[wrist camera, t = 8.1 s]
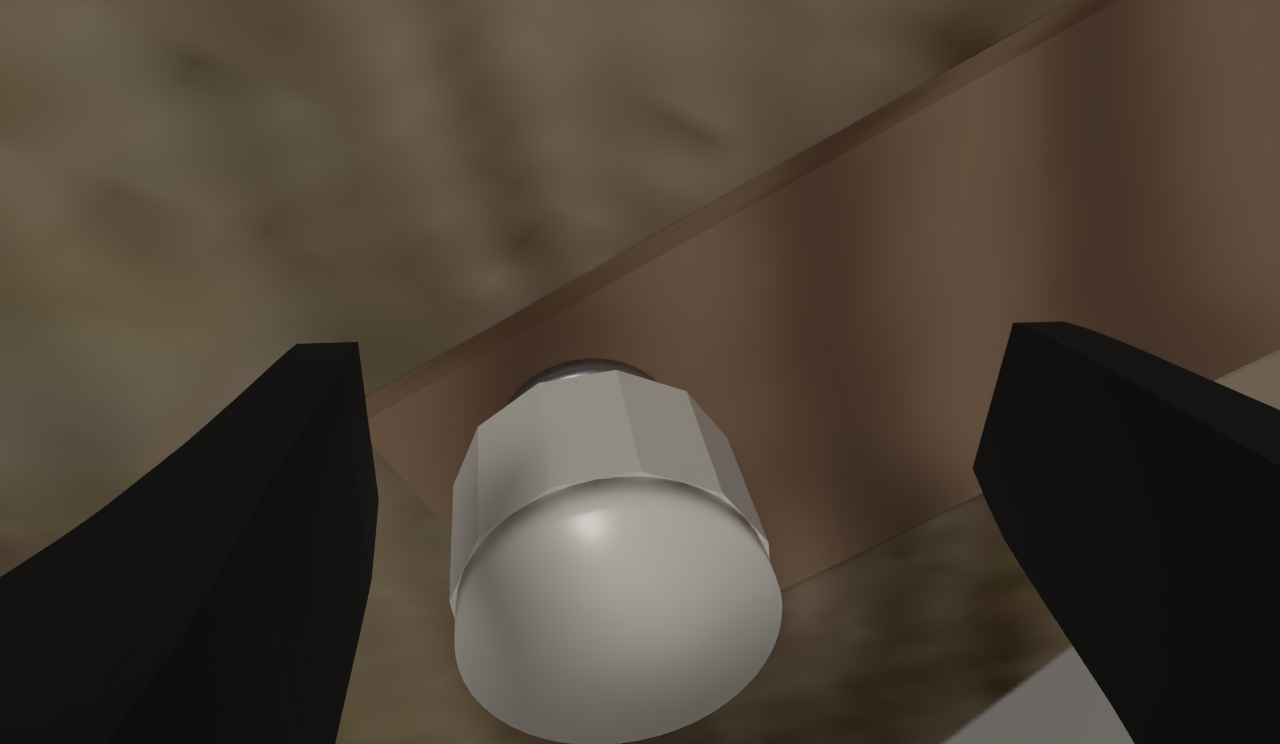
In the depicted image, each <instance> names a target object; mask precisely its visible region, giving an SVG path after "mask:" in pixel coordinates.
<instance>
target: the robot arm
mask: <svg viewBox="0 0 1280 744" xmlns="http://www.w3.org/2000/svg"><path fill="white" fill-rule="evenodd" d="M973 471H974V473H975V476H976V478H977V480H978V483H979V485H980V487H981V490H982V492H983V494H984V497H985V499H986V501H987V504H988V506H989V508H990V510H991V512H992V515H993V517H994V519H995V521H996V523H997V525H998V527H999V529H1000V531H1001V533H1002V535H1003V537H1004V540H1005V541H1006V543H1007V545H1008V546H1009V548H1010V550H1011V551H1012V553H1013V554H1014V556H1015V558H1016V559H1017V561H1018V562H1019V564H1020V566H1021V567H1022V569H1023V570H1024V572H1025V573H1026V575H1027V576H1028V578H1029V580H1030V581H1031V583H1032V584H1033V586H1034V587H1035V589H1036V590H1037V592H1038V594H1039V595H1040V597H1041V598H1042V600H1043V601H1044V603H1045V604H1046V606H1047V607H1048V609H1049V610H1050V612H1051V613H1052V615H1053V617H1054V618H1055V620H1056V621H1057V623H1058V624H1059V626H1060V627H1061V629H1062V630H1063V632H1064V633H1065V635H1066V636H1067V638H1068V639H1069V641H1070V642H1071V644H1072V645H1073V647H1074V648H1075V650H1076V651H1077V653H1078V654H1079V656H1080V658H1081V659H1082V660H1083V662H1084V664H1085V665H1086V667H1087V668H1088V670H1089V671H1090V673H1091V674H1092V676H1093V677H1094V679H1095V680H1096V682H1097V683H1098V685H1099V686H1100V688H1101V690H1102V691H1103V693H1104V694H1105V696H1106V697H1107V699H1108V700H1109V702H1110V703H1111V705H1112V706H1113V708H1114V710H1115V711H1116V713H1117V715H1118V717H1119V718H1120V720H1121V721H1122V723H1123V725H1124V727H1125V728H1126V730H1127V732H1128V733H1129V735H1130V737H1131V738H1132V740H1133V742H1134V743H1135V744H1280V410H1278V409H1276V408H1274V407H1271V406H1269V405H1267V404H1264V403H1262V402H1260V401H1257V400H1255V399H1253V398H1250V397H1248V396H1246V395H1244V394H1241V393H1239V392H1237V391H1234V390H1232V389H1230V388H1228V387H1225V386H1223V385H1221V384H1218V383H1216V382H1214V381H1212V380H1209V379H1207V378H1205V377H1203V376H1200V375H1198V374H1196V373H1194V372H1191V371H1189V370H1187V369H1184V368H1182V367H1180V366H1178V365H1175V364H1173V363H1171V362H1168V361H1166V360H1164V359H1162V358H1159V357H1157V356H1155V355H1153V354H1150V353H1148V352H1146V351H1143V350H1141V349H1139V348H1136V347H1134V346H1131V345H1129V344H1126V343H1124V342H1122V341H1119V340H1117V339H1114V338H1112V337H1109V336H1106V335H1104V334H1101V333H1099V332H1096V331H1093V330H1090V329H1087V328H1084V327H1081V326H1078V325H1074V324H1071V323H1068V322H1064V321H1056V322H1022V323H1013V325H1012V328H1011V332H1010V335H1009V339H1008V342H1007V346H1006V350H1005V353H1004V357H1003V360H1002V364H1001V368H1000V371H999V375H998V378H997V382H996V386H995V389H994V393H993V396H992V400H991V403H990V407H989V411H988V414H987V418H986V421H985V425H984V429H983V432H982V436H981V439H980V443H979V447H978V450H977V454H976V457H975V461H974V465H973ZM378 500H379V498H378V491H377V483H376V475H375V468H374V460H373V453H372V445H371V438H370V430H369V423H368V415H367V408H366V400H365V393H364V385H363V377H362V370H361V362H360V355H359V347H358V342H345V343H311V344H296V345H295V346H294V347H292V348H291V349H290V350H289V351H287V352H286V353H285V354H284V355H283V356H282V357H281V358H280V359H278V360H277V361H276V362H275V363H274V364H273V365H272V366H271V367H270V368H269V369H267V370H266V371H265V372H264V373H263V374H262V375H261V376H260V377H259V378H258V379H257V380H256V381H254V382H253V383H252V384H251V385H250V386H249V387H248V388H247V389H246V390H245V391H244V392H243V393H241V394H240V395H239V396H238V397H237V398H236V399H235V400H234V401H233V402H231V403H230V404H229V405H228V406H227V407H226V408H225V409H224V410H222V411H221V412H220V413H219V414H218V415H217V416H216V417H214V418H213V419H212V420H211V421H210V422H209V423H208V424H207V425H205V426H204V427H203V428H202V429H201V430H200V431H199V432H197V433H196V434H195V435H194V436H193V437H192V438H191V439H190V440H188V441H187V442H186V443H185V444H184V445H182V446H181V447H180V448H179V449H177V450H176V451H175V452H174V453H172V454H171V455H170V456H169V457H167V458H166V459H165V460H163V461H162V462H161V463H160V464H158V465H157V466H156V467H155V468H153V469H152V470H151V471H150V472H148V473H147V474H146V475H145V476H143V477H142V478H141V479H139V480H138V481H137V482H136V483H134V484H133V485H132V486H131V487H129V488H128V489H127V490H126V491H124V492H123V493H122V494H120V495H119V496H118V497H117V498H115V499H114V500H113V501H112V502H110V503H109V504H108V505H106V506H105V507H104V508H102V509H101V510H100V511H98V512H97V513H95V514H94V515H93V516H91V517H90V518H89V519H87V520H86V521H84V522H83V523H81V524H80V525H79V526H77V527H76V528H74V529H73V530H71V531H70V532H69V533H67V534H66V535H64V536H63V537H61V538H60V539H58V540H57V541H55V542H54V543H52V544H51V545H49V546H48V547H46V548H45V549H43V550H42V551H40V552H38V553H37V554H35V555H34V556H32V557H31V558H29V559H28V560H26V561H25V562H23V563H22V564H20V565H18V566H17V567H15V568H14V569H12V570H11V571H9V572H8V573H6V574H5V575H3V576H1V577H0V744H335V742H336V737H337V733H338V728H339V724H340V719H341V715H342V711H343V706H344V702H345V697H346V693H347V689H348V684H349V680H350V675H351V671H352V666H353V662H354V658H355V653H356V649H357V644H358V640H359V635H360V631H361V626H362V622H363V617H364V613H365V608H366V603H367V599H368V594H369V589H370V585H371V579H372V569H373V559H374V548H375V537H376V525H377V512H378Z"/></svg>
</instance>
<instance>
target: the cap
mask: <svg viewBox="0 0 1280 744" xmlns="http://www.w3.org/2000/svg"><path fill="white" fill-rule="evenodd" d="M450 605H451V608H452V611H453V615H454V618H455V655H456V660H457V665H458V669H459V671H460V674H461V676H462V679H463V681H464V683H465V684H466V686H467V688H468V689H469V691H470V692H471V694H472V695H473V696H474V697H475V699H476V700H477V701H478V702H479V703H480V704H481V705H482V706H483V707H484V708H485V709H486V710H487V711H489V712H490V713H491V714H492V715H494V716H495V717H496V718H498V719H499V720H501V721H503V722H504V723H506V724H508V725H509V726H511V727H514V728H516V729H518V730H520V731H522V732H525V733H527V734H530V735H533V736H537V737H540V738H543V739H547V740H552V741H557V742H562V743H570V744H621V743H627V742H634V741H640V740H644V739H648V738H652V737H656V736H660V735H663V734H666V733H669V732H672V731H675V730H678V729H680V728H682V727H685V726H687V725H689V724H692V723H694V722H696V721H698V720H700V719H702V718H703V717H705V716H707V715H709V714H711V713H713V712H714V711H715V710H717V709H718V708H720V707H721V706H723V705H724V704H726V703H727V702H729V701H730V700H731V699H732V698H733V697H735V696H736V695H737V694H738V693H740V692H741V691H742V690H743V689H744V688H745V687H746V686H747V685H748V684H749V683H750V682H751V681H752V680H753V679H754V677H755V676H756V675H757V673H758V672H759V671H760V669H761V668H762V667H763V666H764V664H765V662H766V661H767V659H768V657H769V655H770V654H771V652H772V650H773V647H774V645H775V643H776V640H777V638H778V634H779V630H780V626H781V621H782V599H781V591H780V588H779V585H778V582H777V579H776V576H775V573H774V571H773V568H772V566H771V563H770V560H769V542H768V540H767V537H766V535H765V532H764V530H763V527H762V524H761V522H760V519H759V517H758V514H757V512H756V509H755V507H754V504H753V502H752V499H751V497H750V494H749V492H748V489H747V487H746V484H745V482H744V479H743V476H742V474H741V471H740V469H739V466H738V464H737V461H736V459H735V456H734V454H733V451H732V449H731V446H730V444H729V441H728V439H727V437H726V436H725V435H724V434H723V432H722V431H721V430H720V429H719V428H718V427H717V426H716V424H715V423H714V422H713V421H712V420H711V419H710V418H709V416H708V415H707V414H706V413H705V412H704V411H703V410H702V408H701V407H700V406H699V405H698V404H697V403H696V402H695V401H694V399H693V398H692V397H691V396H690V395H689V394H688V393H687V391H684V390H681V389H678V388H675V387H671V386H668V385H665V384H661V383H658V382H655V381H651V380H648V379H645V378H642V377H638V376H635V375H632V374H628V373H625V372H622V371H619V370H612V371H607V372H601V373H595V374H589V375H583V376H577V377H571V378H565V379H559V380H553V381H547V382H541V383H538V384H536V385H535V386H534V387H532V388H531V389H529V390H528V391H527V392H525V393H524V394H523V395H521V396H520V397H518V398H517V399H516V400H514V401H513V402H511V403H510V404H509V405H507V406H506V407H505V408H503V409H502V410H500V411H499V412H498V413H496V414H495V415H493V416H492V417H491V418H489V419H488V420H487V421H485V422H484V423H482V424H481V425H480V426H478V428H477V430H476V432H475V435H474V437H473V440H472V442H471V444H470V447H469V449H468V452H467V454H466V456H465V459H464V461H463V464H462V466H461V468H460V471H459V473H458V476H457V478H456V480H455V483H454V485H453V508H452V541H451V573H450Z"/></svg>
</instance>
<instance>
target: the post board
mask: <svg viewBox="0 0 1280 744" xmlns="http://www.w3.org/2000/svg"><path fill="white" fill-rule="evenodd" d="M1056 321H1064V322H1068V323H1071V324H1074V325H1078V326H1081V327H1084V328H1087V329H1090V330H1093V331H1096V332H1099V333H1101V334H1104V335H1106V336H1109V337H1112V338H1114V339H1117V340H1119V341H1122V342H1124V343H1126V344H1129V345H1131V346H1134V347H1136V348H1139V349H1141V350H1143V351H1146V352H1148V353H1150V354H1153V355H1155V356H1157V357H1159V358H1162V359H1164V360H1166V361H1168V362H1171V363H1173V364H1175V365H1178V366H1180V367H1182V368H1184V369H1187V370H1189V371H1191V372H1194V373H1196V374H1198V375H1200V376H1203V377H1205V378H1207V379H1209V380H1212V381H1213V380H1215V379H1218V378H1220V377H1222V376H1224V375H1226V374H1228V373H1230V372H1232V371H1234V370H1236V369H1238V368H1240V367H1242V366H1244V365H1246V364H1248V363H1250V362H1252V361H1254V360H1256V359H1259V358H1261V357H1263V356H1265V355H1267V354H1269V353H1271V352H1273V351H1275V350H1277V349H1279V348H1280V0H1073V1H1071V2H1069V3H1067V4H1066V5H1064V6H1062V7H1060V8H1059V9H1057V10H1055V11H1053V12H1051V13H1050V14H1048V15H1046V16H1044V17H1043V18H1041V19H1039V20H1037V21H1035V22H1034V23H1032V24H1030V25H1028V26H1027V27H1025V28H1023V29H1021V30H1019V31H1018V32H1016V33H1014V34H1012V35H1011V36H1009V37H1007V38H1005V39H1003V40H1002V41H1000V42H998V43H996V44H994V45H993V46H991V47H989V48H987V49H986V50H984V51H982V52H980V53H978V54H977V55H975V56H973V57H971V58H970V59H968V60H966V61H964V62H962V63H961V64H959V65H957V66H955V67H954V68H952V69H950V70H948V71H946V72H945V73H943V74H941V75H939V76H938V77H936V78H934V79H932V80H930V81H929V82H927V83H925V84H923V85H922V86H920V87H918V88H916V89H914V90H913V91H911V92H909V93H907V94H906V95H904V96H902V97H900V98H898V99H897V100H895V101H893V102H891V103H889V104H888V105H886V106H884V107H882V108H881V109H879V110H877V111H875V112H873V113H872V114H870V115H868V116H866V117H865V118H863V119H861V120H859V121H857V122H856V123H854V124H852V125H850V126H849V127H847V128H845V129H843V130H841V131H840V132H838V133H836V134H834V135H833V136H831V137H829V138H827V139H825V140H824V141H822V142H820V143H818V144H817V145H815V146H813V147H811V148H809V149H808V150H806V151H804V152H802V153H800V154H799V155H797V156H795V157H793V158H792V159H790V160H788V161H786V162H784V163H783V164H781V165H779V166H777V167H776V168H774V169H772V170H770V171H768V172H767V173H765V174H763V175H761V176H760V177H758V178H756V179H754V180H752V181H751V182H749V183H747V184H745V185H744V186H742V187H740V188H738V189H736V190H735V191H733V192H731V193H729V194H728V195H726V196H724V197H722V198H720V199H719V200H717V201H715V202H713V203H711V204H710V205H708V206H706V207H704V208H703V209H701V210H699V211H697V212H695V213H694V214H692V215H690V216H688V217H687V218H685V219H683V220H681V221H679V222H678V223H676V224H674V225H672V226H671V227H669V228H667V229H665V230H663V231H662V232H660V233H658V234H656V235H655V236H653V237H651V238H649V239H647V240H646V241H644V242H642V243H640V244H639V245H637V246H635V247H633V248H631V249H630V250H628V251H626V252H624V253H622V254H621V255H619V256H617V257H615V258H614V259H612V260H610V261H608V262H606V263H605V264H603V265H601V266H599V267H598V268H596V269H594V270H592V271H590V272H589V273H587V274H585V275H583V276H582V277H580V278H578V279H576V280H574V281H573V282H571V283H569V284H567V285H566V286H564V287H562V288H560V289H558V290H557V291H555V292H553V293H551V294H550V295H548V296H546V297H544V298H542V299H541V300H539V301H537V302H535V303H533V304H532V305H530V306H528V307H526V308H525V309H523V310H521V311H519V312H517V313H516V314H514V315H512V316H510V317H509V318H507V319H505V320H503V321H501V322H500V323H498V324H496V325H494V326H493V327H491V328H489V329H487V330H485V331H484V332H482V333H480V334H478V335H477V336H475V337H473V338H471V339H469V340H468V341H466V342H464V343H462V344H461V345H459V346H457V347H455V348H453V349H452V350H450V351H448V352H446V353H444V354H443V355H441V356H439V357H437V358H436V359H434V360H432V361H430V362H428V363H427V364H425V365H423V366H421V367H420V368H418V369H416V370H414V371H412V372H411V373H409V374H407V375H405V376H404V377H402V378H400V379H398V380H396V381H395V382H393V383H391V384H389V385H388V386H386V387H384V388H382V389H380V390H379V391H377V392H375V393H373V394H372V395H370V396H368V397H366V398H365V400H366V408H367V415H368V423H369V430H370V438H371V445H372V446H373V447H374V448H375V449H376V450H377V451H378V452H379V454H380V455H381V456H382V457H383V458H384V459H385V460H386V461H387V462H388V463H389V465H390V466H391V467H392V468H393V469H394V470H395V471H396V472H397V473H398V474H399V475H400V477H401V478H402V479H403V480H404V481H405V482H406V483H407V484H408V485H409V486H410V487H411V489H412V490H413V491H414V492H415V493H416V494H417V495H418V496H419V497H420V498H421V500H422V501H423V502H424V503H425V504H426V505H427V506H428V507H429V508H430V509H431V510H432V512H433V513H434V514H435V515H436V516H437V517H438V518H439V519H440V520H441V521H442V523H443V524H444V525H445V526H446V527H447V528H448V529H449V530H450V531H451V532H452V508H453V485H454V483H455V480H456V478H457V476H458V473H459V471H460V468H461V466H462V464H463V461H464V459H465V456H466V454H467V452H468V449H469V447H470V444H471V442H472V440H473V437H474V435H475V432H476V430H477V428H478V426H480V425H481V424H482V423H484V422H485V421H487V420H488V419H489V418H491V417H492V416H493V415H495V414H496V413H498V412H499V411H500V410H502V409H503V408H505V407H506V406H507V405H509V404H510V403H511V402H513V401H514V400H516V399H517V398H518V397H520V396H521V395H523V394H524V393H525V392H527V391H528V390H529V389H531V388H532V387H534V386H535V385H536V384H538V383H541V382H547V381H553V380H559V379H565V378H571V377H577V376H583V375H589V374H595V373H601V372H607V371H612V370H619V371H622V372H625V373H628V374H632V375H635V376H638V377H642V378H645V379H648V380H651V381H655V382H658V383H661V384H665V385H668V386H671V387H675V388H678V389H681V390H684V391H687V393H688V394H689V395H690V396H691V397H692V398H693V399H694V401H695V402H696V403H697V404H698V405H699V406H700V407H701V408H702V410H703V411H704V412H705V413H706V414H707V415H708V416H709V418H710V419H711V420H712V421H713V422H714V423H715V424H716V426H717V427H718V428H719V429H720V430H721V431H722V432H723V434H724V435H725V436H726V437H727V439H728V441H729V444H730V446H731V449H732V451H733V454H734V456H735V459H736V461H737V464H738V466H739V469H740V471H741V474H742V476H743V479H744V482H745V484H746V487H747V489H748V492H749V494H750V497H751V499H752V502H753V504H754V507H755V509H756V512H757V514H758V517H759V519H760V522H761V524H762V527H763V530H764V532H765V535H766V537H767V540H768V542H769V560H770V563H771V566H772V568H773V571H774V573H775V576H776V579H777V582H778V585H779V588H780V591H783V590H785V589H787V588H789V587H791V586H793V585H795V584H798V583H800V582H802V581H804V580H806V579H808V578H810V577H812V576H814V575H816V574H818V573H820V572H822V571H824V570H826V569H828V568H830V567H832V566H834V565H836V564H839V563H841V562H843V561H845V560H847V559H849V558H851V557H853V556H855V555H857V554H859V553H861V552H863V551H865V550H867V549H869V548H871V547H873V546H875V545H877V544H879V543H882V542H884V541H886V540H888V539H890V538H892V537H894V536H896V535H898V534H900V533H902V532H904V531H906V530H908V529H910V528H912V527H914V526H916V525H918V524H920V523H923V522H925V521H927V520H929V519H931V518H933V517H935V516H937V515H939V514H941V513H943V512H945V511H947V510H949V509H951V508H953V507H955V506H957V505H959V504H961V503H963V502H966V501H968V500H970V499H972V498H974V497H976V496H978V495H980V494H982V493H983V492H982V490H981V487H980V485H979V483H978V480H977V478H976V476H975V473H974V471H973V465H974V461H975V457H976V454H977V450H978V447H979V443H980V439H981V436H982V432H983V429H984V425H985V421H986V418H987V414H988V411H989V407H990V403H991V400H992V396H993V393H994V389H995V386H996V382H997V378H998V375H999V371H1000V368H1001V364H1002V360H1003V357H1004V353H1005V350H1006V346H1007V342H1008V339H1009V335H1010V332H1011V328H1012V325H1013V323H1022V322H1056Z"/></svg>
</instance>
